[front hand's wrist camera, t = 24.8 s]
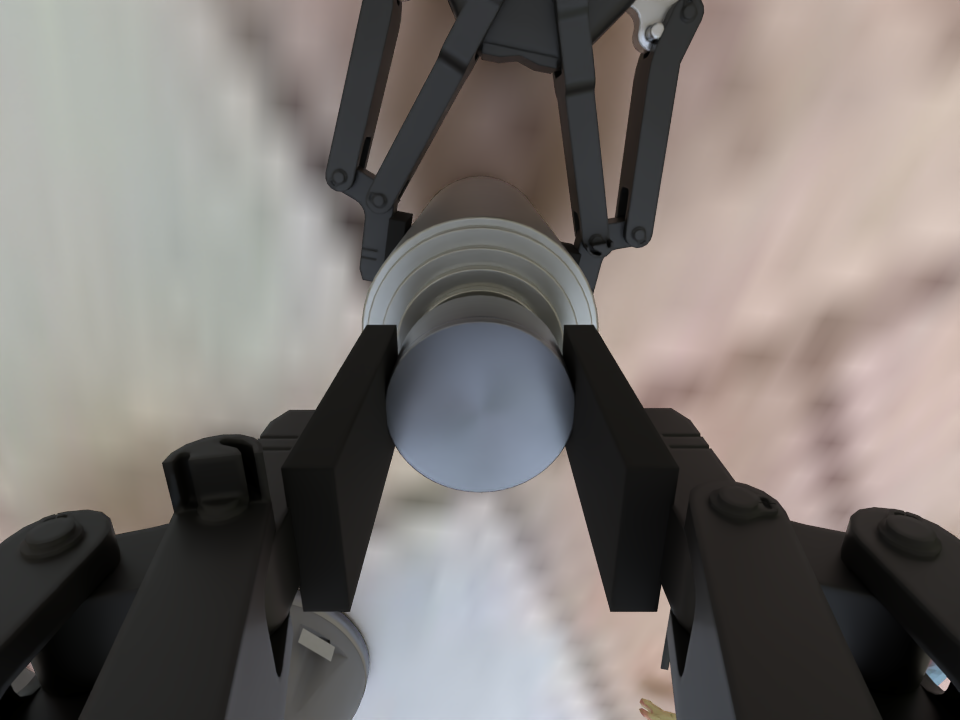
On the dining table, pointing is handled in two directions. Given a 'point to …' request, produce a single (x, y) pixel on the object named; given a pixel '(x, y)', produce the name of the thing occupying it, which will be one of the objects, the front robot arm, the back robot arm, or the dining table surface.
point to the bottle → (480, 261)
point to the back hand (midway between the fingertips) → (462, 358)
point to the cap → (480, 395)
